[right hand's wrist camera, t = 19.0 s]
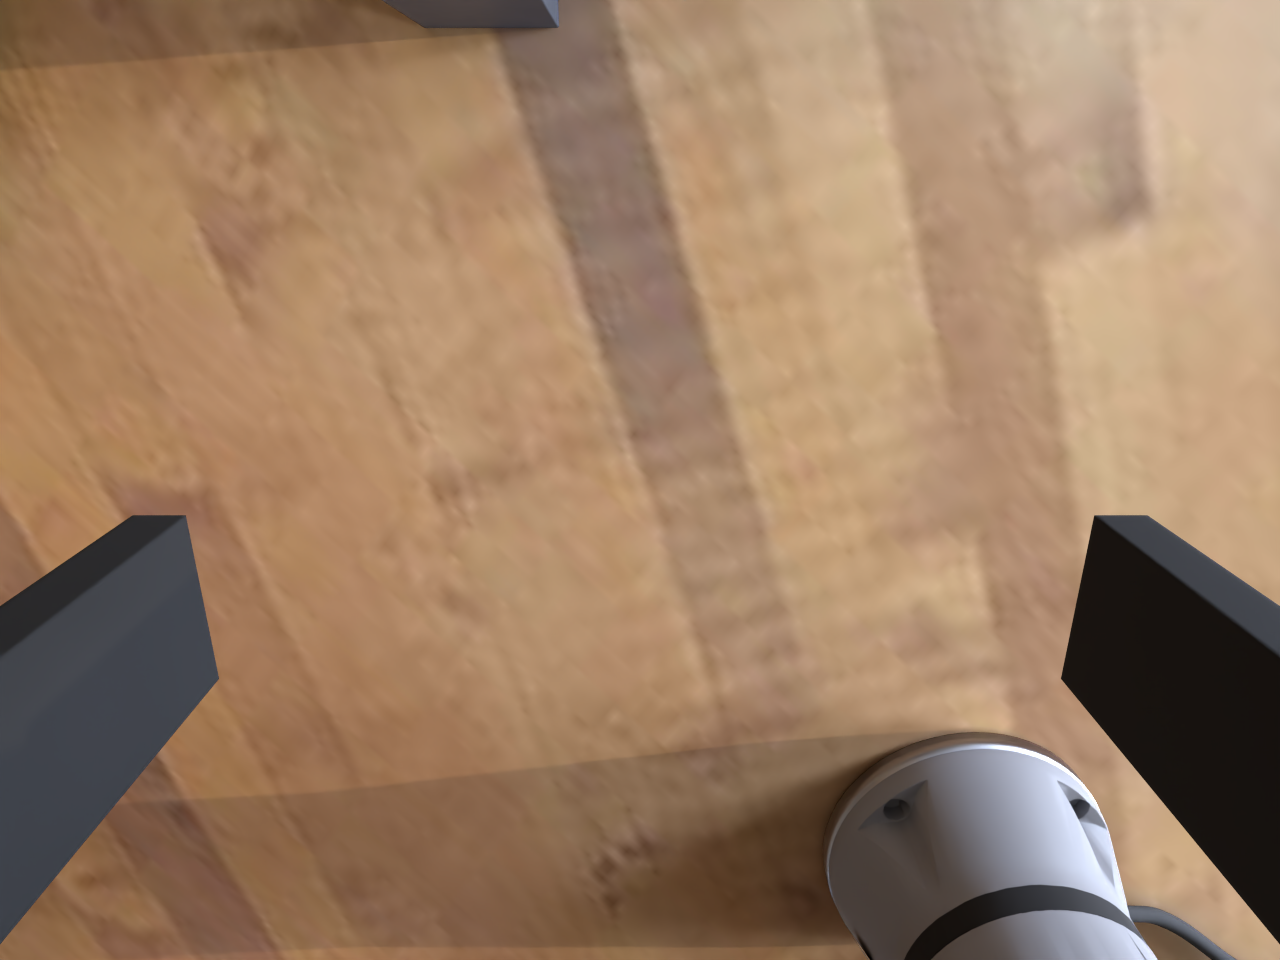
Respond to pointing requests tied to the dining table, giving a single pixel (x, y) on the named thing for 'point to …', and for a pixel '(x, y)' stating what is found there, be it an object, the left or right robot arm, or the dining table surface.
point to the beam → (480, 13)
